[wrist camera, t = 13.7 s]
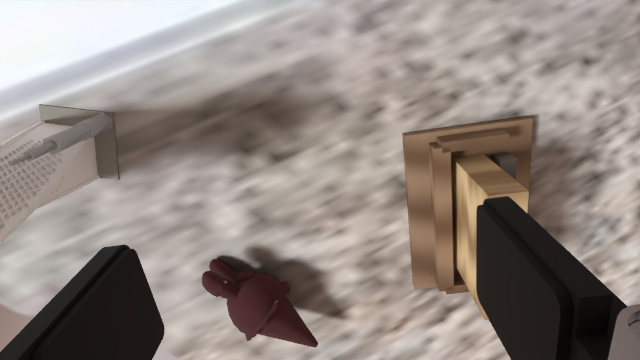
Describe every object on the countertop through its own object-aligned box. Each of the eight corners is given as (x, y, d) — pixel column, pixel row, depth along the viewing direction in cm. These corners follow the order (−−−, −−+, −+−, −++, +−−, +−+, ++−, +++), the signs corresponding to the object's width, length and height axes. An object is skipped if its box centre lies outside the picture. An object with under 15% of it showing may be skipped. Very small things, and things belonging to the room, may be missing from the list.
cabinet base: (402, 133, 38) (408, 142, 35) (527, 115, 38) (543, 123, 35) (413, 283, 45) (418, 301, 42) (519, 271, 44) (532, 288, 41)
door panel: (452, 157, 38) (488, 195, 30) (494, 152, 38) (542, 189, 30) (453, 261, 43) (484, 319, 34) (490, 257, 42) (531, 315, 34)
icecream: (342, 336, 40) (223, 250, 38) (297, 391, 40) (176, 308, 38) (334, 306, 47) (232, 231, 44) (295, 353, 47) (193, 281, 45)
